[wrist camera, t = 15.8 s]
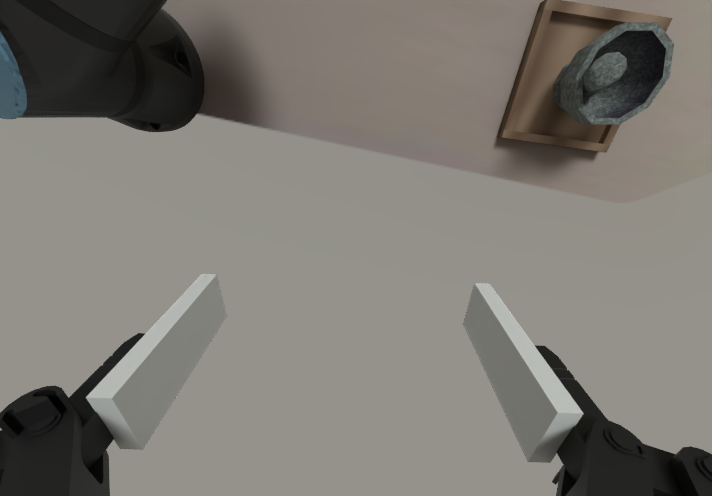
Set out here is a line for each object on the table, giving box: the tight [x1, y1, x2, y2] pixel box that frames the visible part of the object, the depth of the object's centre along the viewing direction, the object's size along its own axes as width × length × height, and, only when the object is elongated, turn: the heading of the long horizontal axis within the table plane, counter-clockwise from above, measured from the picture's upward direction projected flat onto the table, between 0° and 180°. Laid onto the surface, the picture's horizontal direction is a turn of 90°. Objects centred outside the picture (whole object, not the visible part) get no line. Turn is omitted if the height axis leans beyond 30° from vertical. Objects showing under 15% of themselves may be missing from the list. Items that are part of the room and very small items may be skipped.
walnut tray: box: [497, 0, 672, 152], centre depth 36 cm, size 15×15×2 cm
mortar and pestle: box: [553, 22, 674, 125], centre depth 30 cm, size 11×9×12 cm
